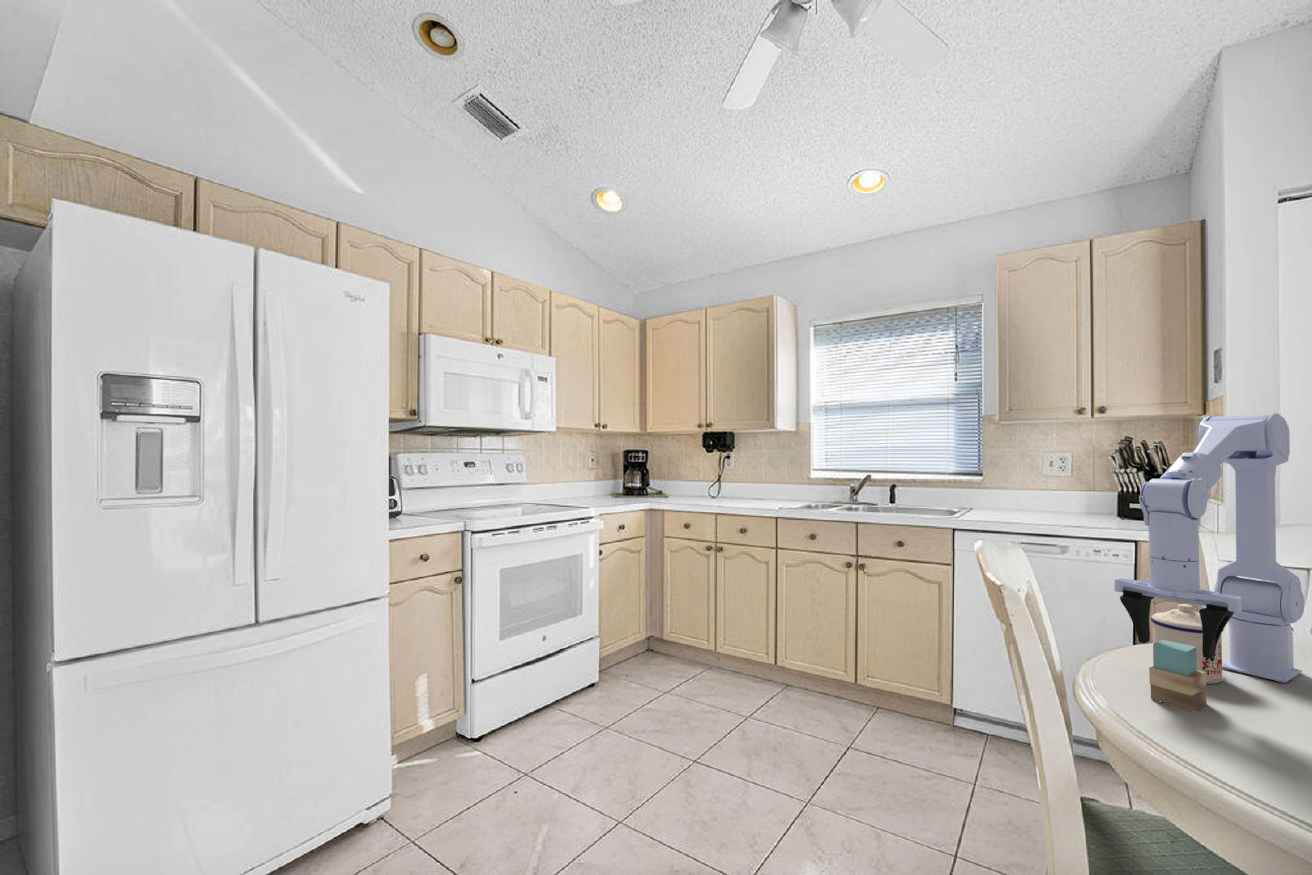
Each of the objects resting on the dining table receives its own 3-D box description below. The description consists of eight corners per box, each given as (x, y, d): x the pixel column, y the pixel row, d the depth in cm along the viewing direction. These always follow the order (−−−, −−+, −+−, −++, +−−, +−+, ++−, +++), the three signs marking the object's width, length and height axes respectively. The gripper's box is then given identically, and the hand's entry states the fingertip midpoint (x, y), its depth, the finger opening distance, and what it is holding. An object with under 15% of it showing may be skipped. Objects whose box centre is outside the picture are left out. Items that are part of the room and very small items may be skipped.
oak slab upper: (1164, 677, 92) (1164, 661, 92) (1206, 689, 87) (1205, 672, 87) (1149, 683, 89) (1149, 667, 89) (1191, 695, 85) (1191, 678, 85)
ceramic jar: (1218, 689, 93) (1217, 615, 93) (1145, 672, 100) (1144, 603, 100) (1232, 672, 100) (1231, 603, 100) (1163, 657, 107) (1162, 593, 108)
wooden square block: (1164, 694, 92) (1163, 677, 92) (1206, 705, 87) (1206, 688, 88) (1150, 700, 89) (1150, 684, 89) (1193, 713, 85) (1193, 695, 85)
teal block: (1162, 662, 92) (1162, 639, 92) (1196, 670, 88) (1196, 646, 88) (1153, 667, 89) (1153, 643, 89) (1187, 675, 86) (1187, 651, 86)
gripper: (1105, 553, 93) (1106, 640, 93) (1228, 569, 81) (1230, 669, 80) (1125, 549, 97) (1126, 633, 97) (1246, 564, 84) (1248, 659, 84)
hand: (1175, 649), depth 89 cm, fingers open, 7 cm apart
